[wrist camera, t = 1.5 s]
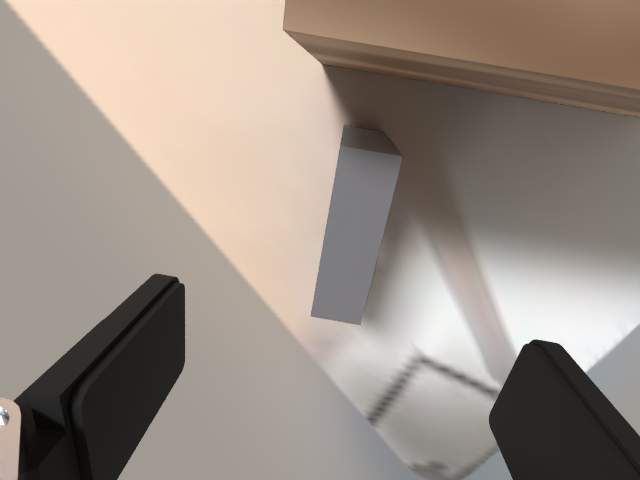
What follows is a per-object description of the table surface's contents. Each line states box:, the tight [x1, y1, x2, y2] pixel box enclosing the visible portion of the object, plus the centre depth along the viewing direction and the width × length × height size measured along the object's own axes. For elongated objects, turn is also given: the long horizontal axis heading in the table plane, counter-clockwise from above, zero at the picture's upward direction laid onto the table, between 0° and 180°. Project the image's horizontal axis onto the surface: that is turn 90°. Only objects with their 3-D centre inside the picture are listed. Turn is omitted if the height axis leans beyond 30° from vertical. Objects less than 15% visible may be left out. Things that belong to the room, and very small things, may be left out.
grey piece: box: [311, 125, 403, 325], centre depth 18 cm, size 8×2×8 cm, turn 171°
